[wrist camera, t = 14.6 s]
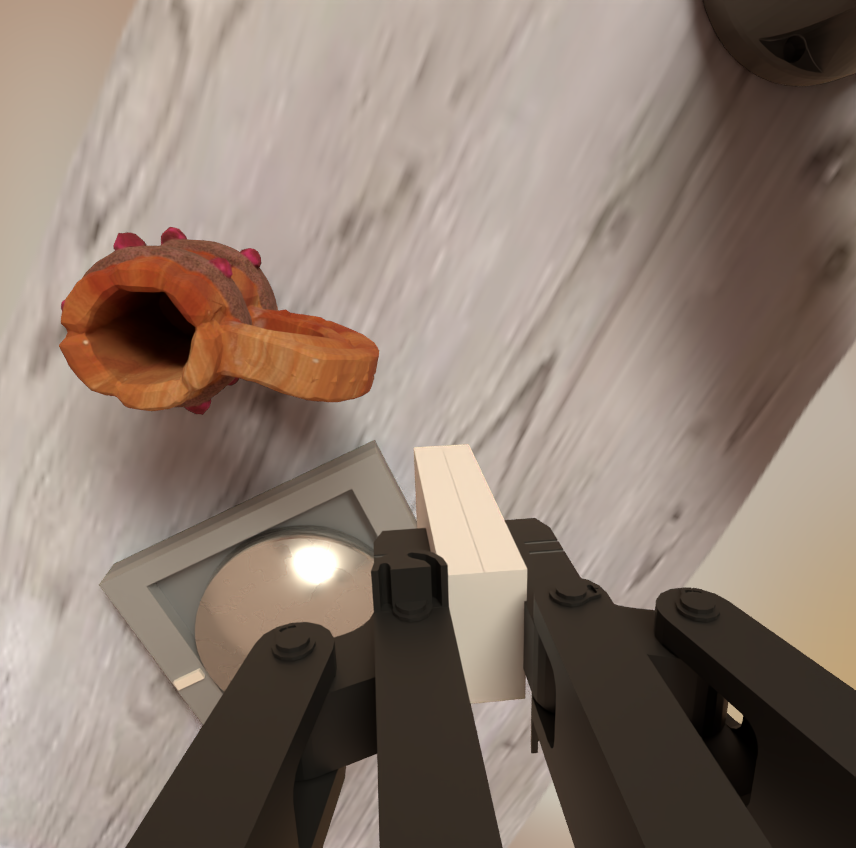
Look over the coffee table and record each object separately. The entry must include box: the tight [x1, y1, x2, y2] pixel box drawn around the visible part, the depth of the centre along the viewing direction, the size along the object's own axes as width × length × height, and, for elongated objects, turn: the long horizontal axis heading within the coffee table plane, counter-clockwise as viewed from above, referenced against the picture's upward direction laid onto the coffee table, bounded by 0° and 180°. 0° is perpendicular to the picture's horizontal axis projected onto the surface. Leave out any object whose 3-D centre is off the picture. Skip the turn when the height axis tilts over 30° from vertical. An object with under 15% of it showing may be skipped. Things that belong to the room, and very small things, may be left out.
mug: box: [59, 227, 379, 415], centre depth 33 cm, size 15×8×15 cm, turn 76°
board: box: [99, 440, 417, 725], centre depth 45 cm, size 20×18×3 cm
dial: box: [195, 525, 374, 692], centre depth 42 cm, size 14×14×6 cm
